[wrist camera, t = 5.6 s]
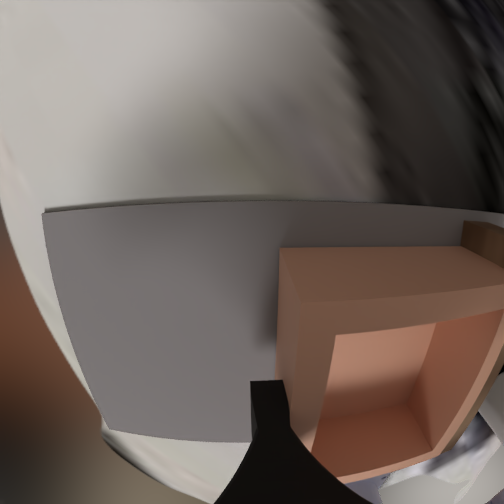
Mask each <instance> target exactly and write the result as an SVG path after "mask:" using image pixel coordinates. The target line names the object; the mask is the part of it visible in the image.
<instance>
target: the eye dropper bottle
mask: <svg viewBox="0 0 504 504" xmlns="http://www.w3.org/2000/svg"><path fill="white" fill-rule="evenodd" d="M478 411H479V412H480V414H481V415H482V416H483V418H484V419H485V420H486V422H487V423H488V425H489V426H490V427H491V429H492V430H493V432H494V433H495V434H496V436H497V437H498V439H499V440H500V442H501V443H502V444H503V446H504V372H503V373H501V374H500V375H498V376H497V378H496V380H495V382H494V384H493V386H492V387H491V389H490V391H489V393H488V395H487V396H486V398H485V400H484V402H483V403H482V405H481V407H480V408H479V410H478Z"/></svg>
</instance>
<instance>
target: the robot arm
mask: <svg viewBox="0 0 504 504" xmlns="http://www.w3.org/2000/svg"><path fill="white" fill-rule="evenodd" d="M250 400H251V433H252V442H251V444H250V446H249V448H248V451H247V453H246V455H245V457H244V459H243V461H242V462H241V464H240V466H239V468H238V469H237V471H236V473H235V475H234V476H233V478H232V479H231V481H230V482H229V484H228V485H227V487H226V488H225V489H224V491H223V492H222V494H221V495H220V496H219V498H218V499H217V500H216V501H215V503H214V504H383V503H382V500H381V497H380V494H379V491H378V489H379V488H380V487H381V485H382V484H383V483H384V482H385V480H386V479H387V478H388V476H389V475H390V473H386V474H383V475H379V476H375V477H372V478H368V479H363V480H359V481H355V482H350V483H345V484H343V483H342V482H341V481H339V480H338V479H337V478H336V477H335V476H334V475H333V474H331V473H330V472H329V471H328V470H327V469H326V468H325V467H324V466H323V465H322V464H321V463H320V462H319V461H318V460H317V459H316V458H315V457H314V456H313V455H312V454H311V453H310V451H309V450H308V449H307V448H306V447H305V445H304V444H303V443H302V442H301V440H300V439H299V438H298V436H297V435H296V433H295V432H294V431H293V429H292V428H291V426H290V414H289V403H288V399H287V394H286V390H285V386H284V383H283V380H268V381H267V380H263V381H250ZM486 504H504V489H503V490H501V491H500V492H499V493H498V494H497V495H495V496H494V497H493V498H492V499H491V500H490V501H489V502H487V503H486Z"/></svg>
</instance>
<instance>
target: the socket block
mask: <svg viewBox="0 0 504 504" xmlns="http://www.w3.org/2000/svg"><path fill="white" fill-rule="evenodd" d="M503 344H504V268H502V267H500V266H498V265H496V264H494V263H493V262H491V261H489V260H487V259H485V258H483V257H481V256H479V255H478V254H476V253H474V252H472V251H470V250H468V249H466V248H464V247H462V246H414V247H301V248H280V251H279V288H278V316H277V340H276V362H275V380H283V383H284V386H285V390H286V394H287V399H288V403H289V414H290V426H291V428H292V429H293V431H294V432H295V433H296V435H297V436H298V438H299V439H300V440H301V442H302V443H303V444H304V445H305V447H306V448H307V449H308V450H309V451H310V453H311V454H312V455H313V456H314V457H315V458H316V459H317V460H318V461H319V462H320V463H321V464H322V465H323V466H324V467H325V468H326V469H327V470H328V471H329V472H330V473H331V474H333V475H334V476H335V477H336V478H337V479H338V480H339V481H341V482H342V483H343V484H345V483H350V482H355V481H359V480H363V479H368V478H372V477H375V476H379V475H383V474H386V473H390V472H393V471H396V470H400V469H403V468H406V467H409V466H412V465H415V464H417V463H420V462H423V461H426V460H428V459H431V458H433V457H436V456H438V455H440V453H441V452H442V451H443V449H444V448H445V447H446V445H447V444H448V443H449V441H450V440H451V438H452V437H453V435H454V434H455V433H456V431H457V430H458V428H459V427H460V425H461V424H462V422H463V420H464V419H465V417H466V416H467V414H468V412H469V411H470V409H471V408H472V406H473V404H474V402H475V401H476V399H477V397H478V395H479V394H480V392H481V390H482V388H483V386H484V384H485V382H486V381H487V379H488V377H489V375H490V373H491V371H492V369H493V366H494V364H495V362H496V360H497V358H498V356H499V353H500V351H501V349H502V346H503Z"/></svg>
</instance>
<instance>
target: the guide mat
mask: <svg viewBox="0 0 504 504" xmlns="http://www.w3.org/2000/svg"><path fill="white" fill-rule="evenodd" d="M464 220H466V221H480V222H489V223H492V224H494V225H497V226H500V227H502V228H504V214H501V213H493V212H484V211H475V210H465V209H455V208H443V207H431V206H417V205H402V204H385V203H364V202H336V201H208V202H180V203H159V204H141V205H125V206H111V207H99V208H87V209H76V210H66V211H56V212H47V213H42V222H43V229H44V236H45V242H46V248H47V253H48V258H49V263H50V268H51V273H52V277H53V281H54V286H55V290H56V294H57V297H58V301H59V305H60V308H61V312H62V315H63V319H64V322H65V325H66V328H67V331H68V334H69V337H70V340H71V343H72V346H73V349H74V352H75V354H76V357H77V360H78V362H79V365H80V367H81V370H82V372H83V375H84V377H85V379H86V382H87V384H88V386H89V389H90V391H91V393H92V395H93V398H94V400H95V402H96V404H97V406H98V408H99V410H100V412H101V414H102V416H103V418H104V420H105V422H106V424H107V426H108V428H109V429H111V430H116V431H121V432H127V433H132V434H138V435H145V436H152V437H159V438H168V439H177V440H188V441H203V442H252V433H251V400H250V381H263V380H267V381H268V380H275V362H276V340H277V316H278V288H279V251H280V248H301V247H414V246H460V243H461V236H462V230H463V222H464Z"/></svg>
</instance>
